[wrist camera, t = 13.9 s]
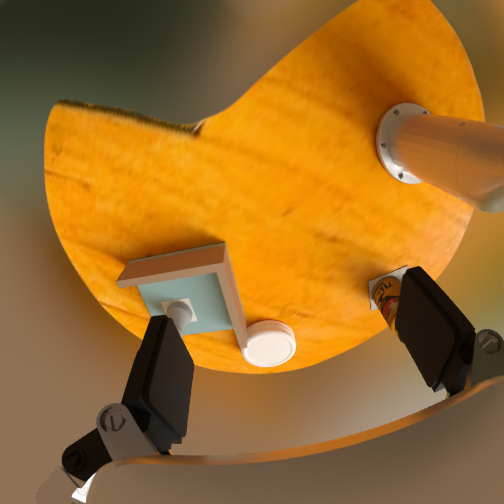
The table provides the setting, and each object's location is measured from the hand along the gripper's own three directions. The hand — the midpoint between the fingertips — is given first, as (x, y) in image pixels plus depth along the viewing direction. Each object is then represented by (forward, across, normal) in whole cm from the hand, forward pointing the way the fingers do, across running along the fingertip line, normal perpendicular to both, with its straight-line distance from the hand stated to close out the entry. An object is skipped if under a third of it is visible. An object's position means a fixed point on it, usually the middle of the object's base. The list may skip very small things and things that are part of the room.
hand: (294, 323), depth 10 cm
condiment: (+29, -21, +24) cm, 43 cm away
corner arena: (+28, +14, +17) cm, 36 cm away
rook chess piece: (+27, +16, +19) cm, 37 cm away
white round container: (+29, +3, +30) cm, 42 cm away
